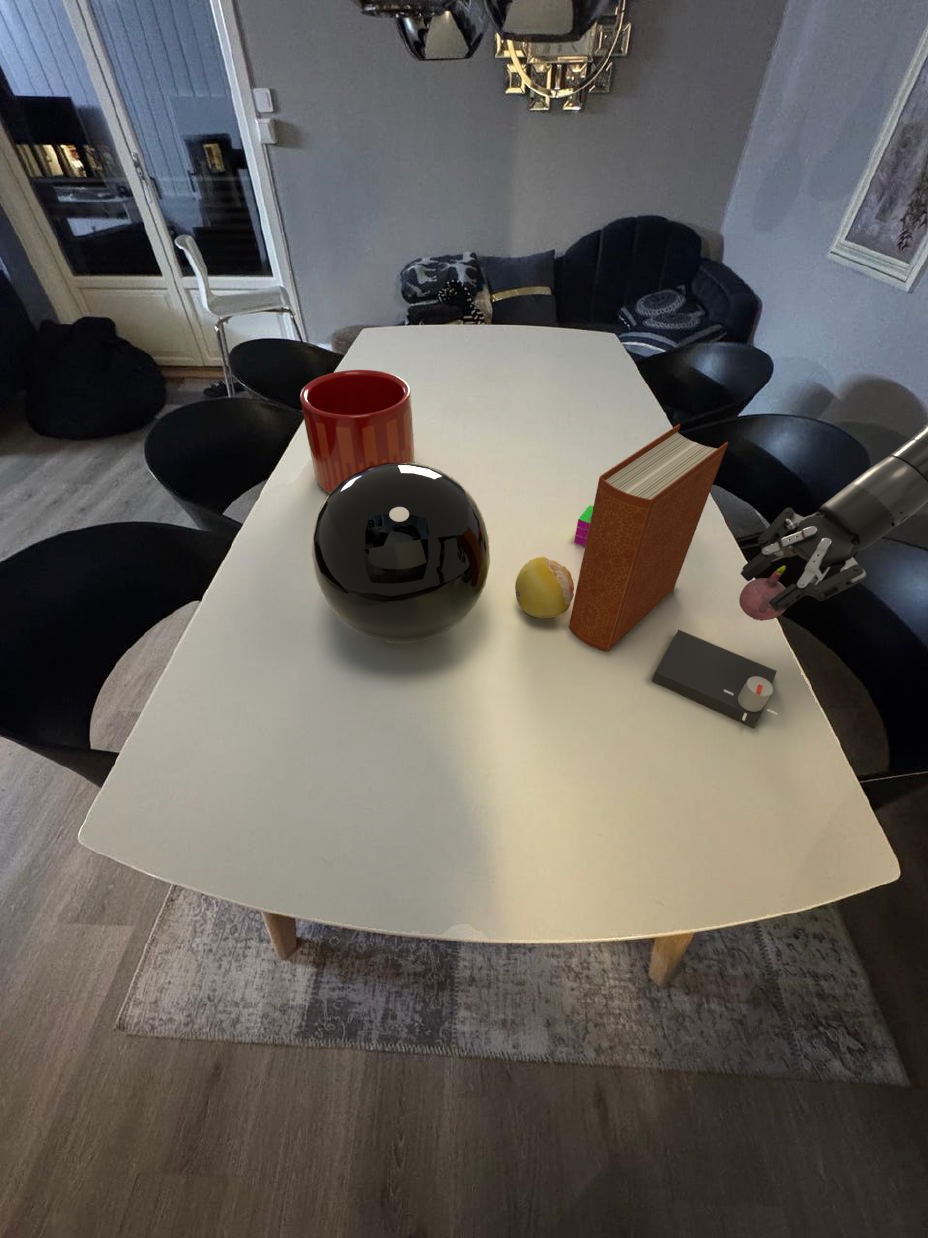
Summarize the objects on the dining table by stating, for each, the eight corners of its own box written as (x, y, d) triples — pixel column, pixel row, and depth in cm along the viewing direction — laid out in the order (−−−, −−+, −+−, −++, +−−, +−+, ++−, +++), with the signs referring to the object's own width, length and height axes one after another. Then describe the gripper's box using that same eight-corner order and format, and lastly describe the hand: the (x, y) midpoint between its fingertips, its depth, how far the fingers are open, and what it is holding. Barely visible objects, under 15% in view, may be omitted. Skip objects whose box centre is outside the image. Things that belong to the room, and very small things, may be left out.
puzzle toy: (610, 536, 118) (616, 513, 114) (600, 551, 114) (605, 528, 110) (584, 528, 120) (589, 504, 116) (573, 542, 116) (578, 518, 112)
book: (635, 569, 110) (679, 423, 89) (673, 589, 106) (728, 442, 85) (564, 630, 99) (594, 479, 77) (604, 655, 95) (647, 503, 73)
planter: (322, 452, 140) (307, 369, 126) (415, 450, 141) (411, 368, 127) (309, 505, 124) (291, 417, 110) (415, 503, 125) (410, 415, 111)
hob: (783, 685, 91) (790, 675, 89) (763, 742, 83) (771, 732, 81) (674, 639, 98) (678, 628, 96) (647, 688, 90) (651, 677, 88)
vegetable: (742, 635, 79) (768, 580, 72) (724, 604, 83) (748, 550, 76) (784, 633, 79) (815, 578, 72) (764, 602, 84) (792, 548, 77)
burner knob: (740, 689, 87) (750, 671, 84) (764, 698, 86) (776, 681, 83) (735, 705, 85) (745, 688, 82) (760, 716, 84) (771, 698, 80)
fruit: (539, 638, 97) (546, 595, 90) (501, 602, 103) (504, 560, 96) (582, 614, 102) (592, 572, 94) (543, 581, 108) (549, 539, 101)
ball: (320, 577, 108) (289, 441, 88) (462, 554, 113) (464, 421, 93) (336, 692, 89) (302, 552, 69) (506, 658, 94) (520, 518, 74)
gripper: (825, 458, 73) (716, 548, 79) (917, 521, 64) (784, 618, 70) (839, 487, 78) (735, 570, 84) (927, 550, 68) (802, 638, 75)
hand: (758, 591), depth 77 cm, fingers closed on vegetable, 5 cm apart
